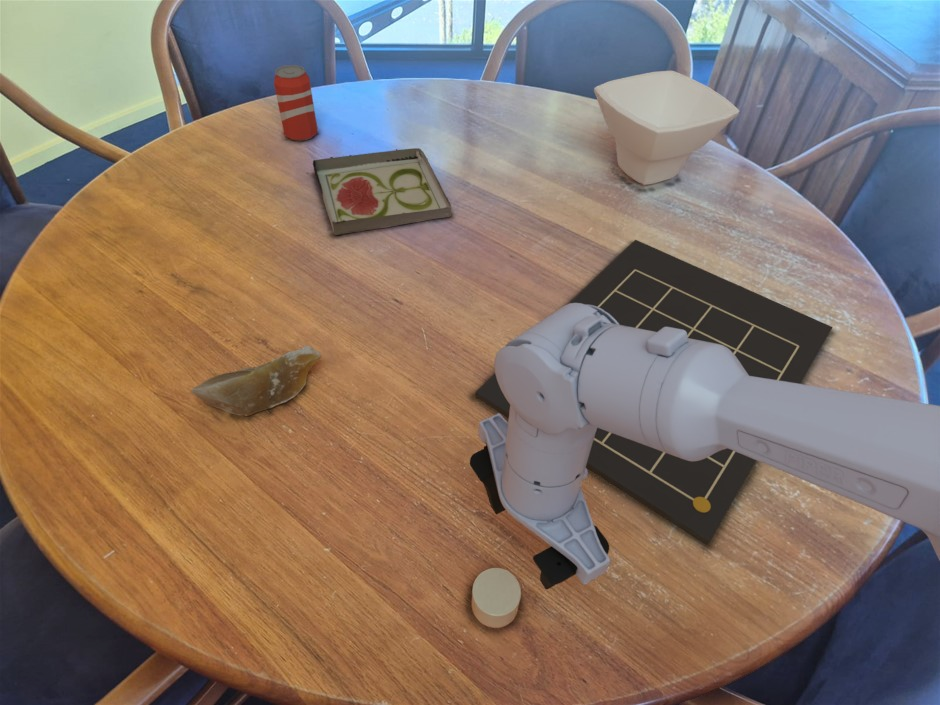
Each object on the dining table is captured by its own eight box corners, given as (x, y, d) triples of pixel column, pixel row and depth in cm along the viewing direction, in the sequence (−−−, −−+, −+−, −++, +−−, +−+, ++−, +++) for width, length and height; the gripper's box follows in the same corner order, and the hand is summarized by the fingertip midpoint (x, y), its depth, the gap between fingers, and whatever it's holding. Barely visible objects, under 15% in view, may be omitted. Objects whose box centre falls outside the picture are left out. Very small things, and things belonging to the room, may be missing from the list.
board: (707, 545, 63) (710, 540, 62) (475, 397, 75) (475, 391, 74) (829, 332, 84) (833, 326, 84) (634, 244, 97) (635, 238, 96)
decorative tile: (424, 161, 114) (313, 170, 109) (424, 145, 112) (311, 154, 107) (452, 224, 101) (327, 238, 96) (453, 208, 98) (325, 221, 94)
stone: (177, 364, 69) (306, 316, 73) (193, 388, 74) (313, 342, 79) (197, 418, 66) (330, 365, 71) (212, 439, 72) (334, 388, 76)
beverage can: (305, 123, 121) (293, 60, 112) (324, 135, 118) (315, 71, 109) (278, 134, 118) (264, 70, 109) (298, 146, 115) (285, 81, 106)
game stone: (526, 615, 57) (529, 603, 55) (483, 636, 56) (485, 624, 54) (505, 573, 60) (507, 560, 58) (463, 592, 59) (464, 579, 56)
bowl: (571, 161, 114) (584, 85, 104) (655, 139, 120) (674, 66, 110) (634, 214, 102) (654, 135, 92) (723, 187, 109) (751, 110, 99)
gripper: (660, 508, 40) (618, 592, 50) (535, 363, 49) (520, 459, 59) (573, 559, 38) (546, 637, 48) (456, 396, 46) (455, 491, 56)
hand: (527, 542), depth 53 cm, fingers open, 7 cm apart
